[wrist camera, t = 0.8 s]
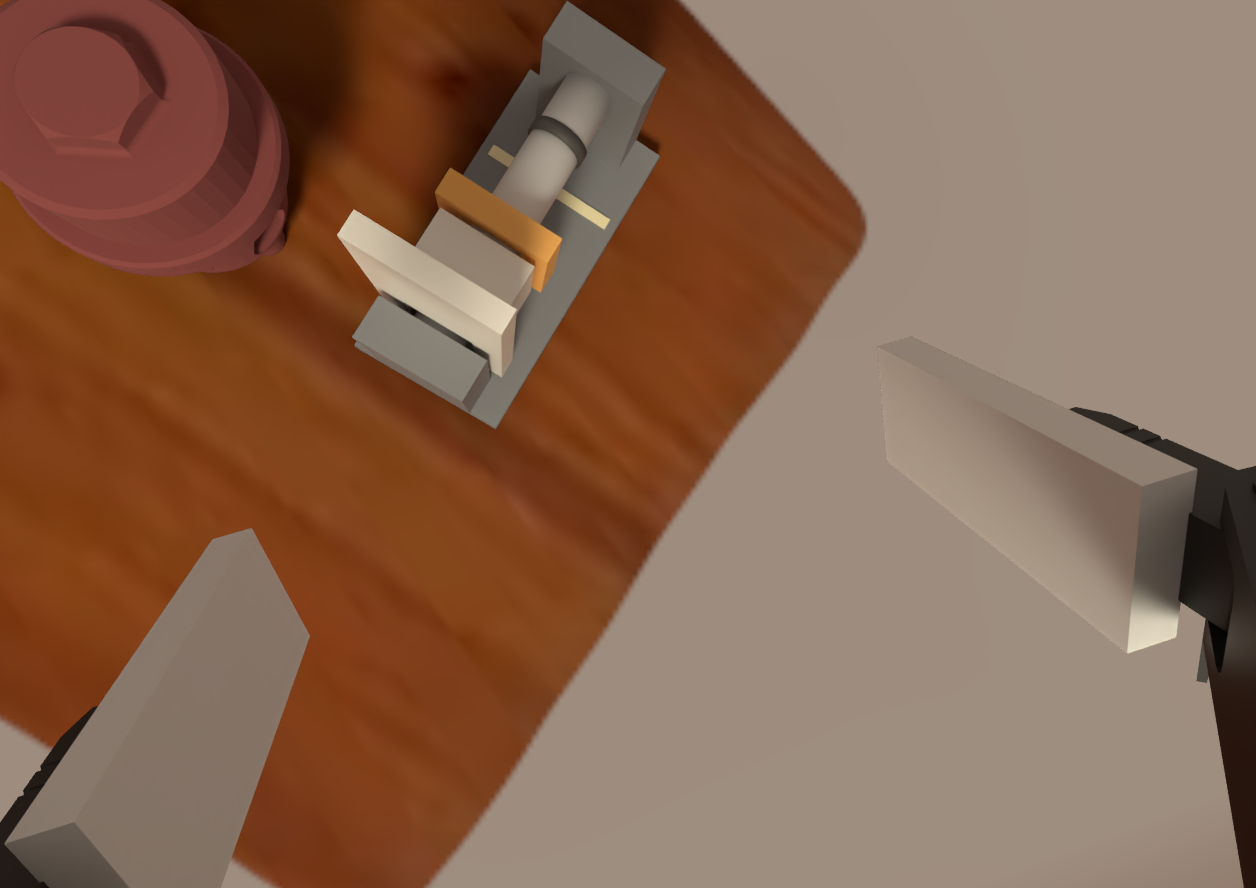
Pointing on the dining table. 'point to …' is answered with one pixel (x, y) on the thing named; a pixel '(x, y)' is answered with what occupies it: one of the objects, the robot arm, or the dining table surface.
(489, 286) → the sleeve
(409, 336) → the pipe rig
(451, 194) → the orange flat plate
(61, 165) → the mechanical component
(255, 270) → the dining table surface
